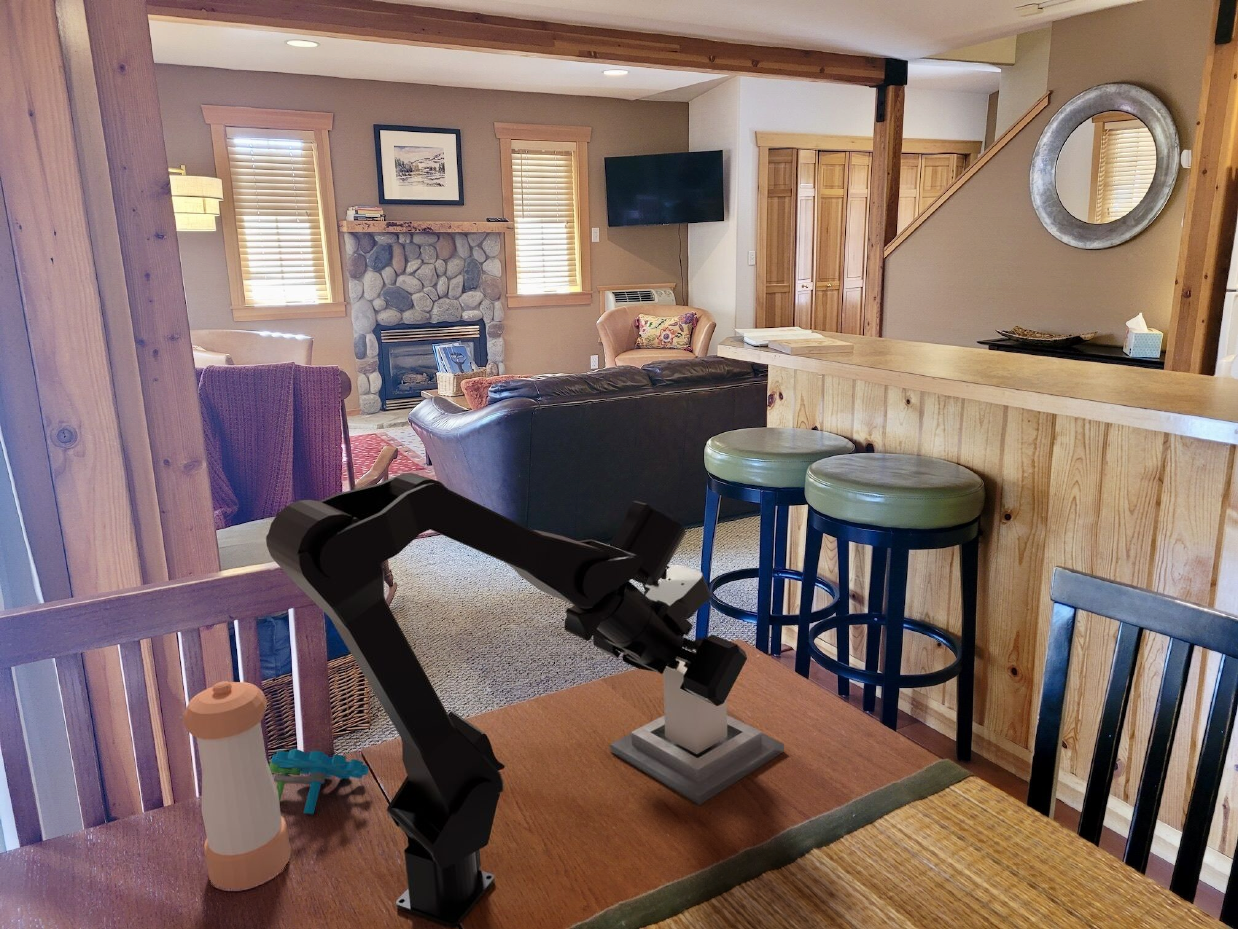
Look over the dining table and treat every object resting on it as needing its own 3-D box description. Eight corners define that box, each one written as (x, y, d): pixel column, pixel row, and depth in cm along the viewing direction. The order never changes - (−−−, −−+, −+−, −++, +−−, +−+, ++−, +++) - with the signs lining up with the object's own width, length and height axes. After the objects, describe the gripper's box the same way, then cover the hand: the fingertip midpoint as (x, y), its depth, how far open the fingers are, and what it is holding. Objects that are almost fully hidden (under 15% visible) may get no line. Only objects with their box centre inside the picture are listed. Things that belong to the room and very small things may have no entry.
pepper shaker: (291, 878, 80) (264, 692, 76) (206, 902, 78) (172, 710, 73) (290, 833, 87) (264, 658, 83) (211, 853, 84) (180, 674, 80)
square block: (696, 754, 94) (695, 679, 92) (665, 736, 98) (663, 664, 96) (727, 737, 98) (726, 664, 96) (695, 720, 101) (694, 650, 99)
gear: (387, 766, 95) (334, 742, 87) (375, 823, 92) (319, 804, 84) (305, 766, 98) (246, 743, 91) (290, 821, 95) (229, 802, 87)
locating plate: (699, 805, 89) (698, 783, 88) (610, 751, 99) (609, 732, 98) (784, 751, 98) (784, 731, 97) (694, 707, 108) (694, 689, 107)
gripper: (734, 572, 83) (802, 642, 93) (608, 532, 97) (679, 597, 106) (678, 674, 80) (755, 735, 89) (556, 617, 94) (634, 676, 103)
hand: (703, 679), depth 97 cm, fingers closed on square block, 5 cm apart
